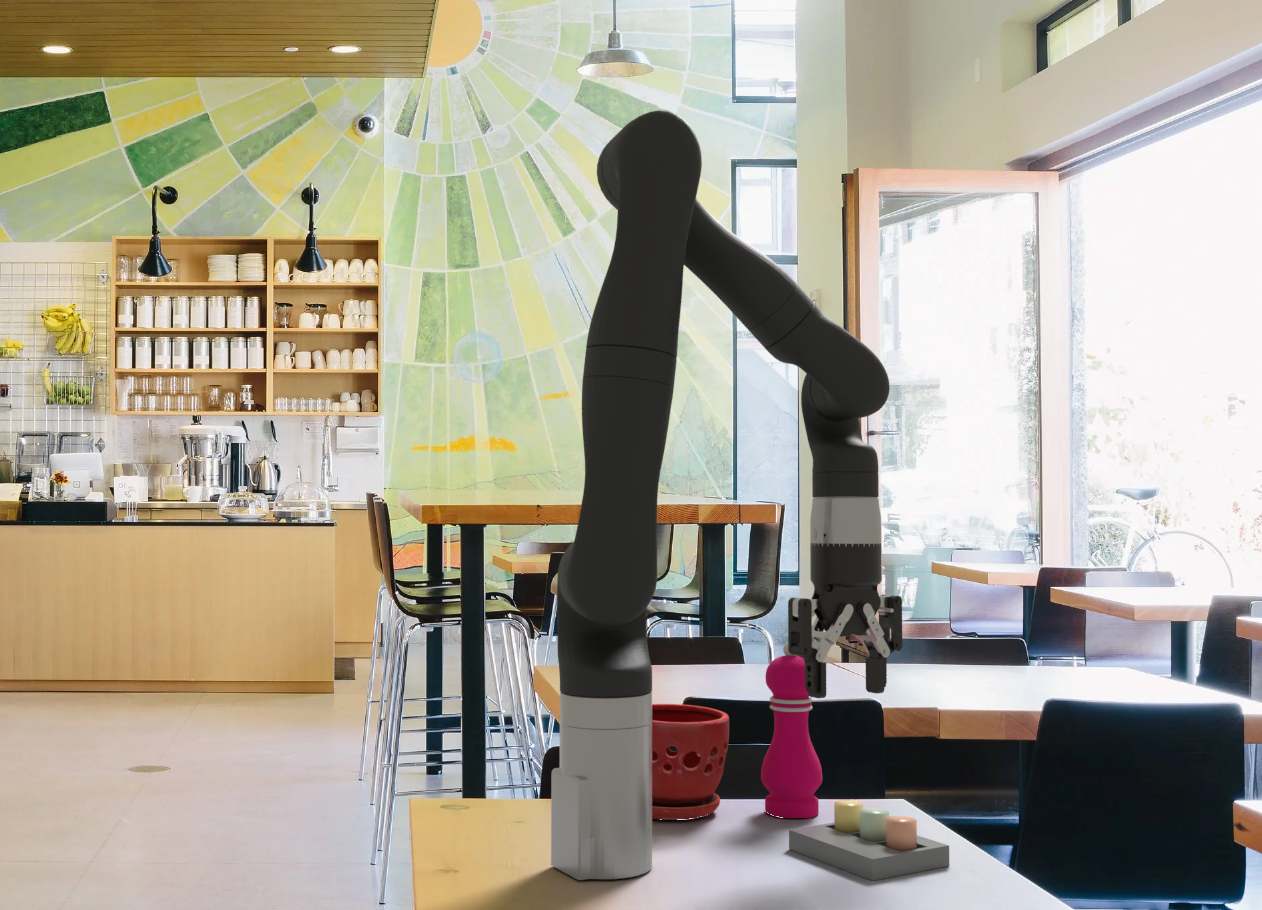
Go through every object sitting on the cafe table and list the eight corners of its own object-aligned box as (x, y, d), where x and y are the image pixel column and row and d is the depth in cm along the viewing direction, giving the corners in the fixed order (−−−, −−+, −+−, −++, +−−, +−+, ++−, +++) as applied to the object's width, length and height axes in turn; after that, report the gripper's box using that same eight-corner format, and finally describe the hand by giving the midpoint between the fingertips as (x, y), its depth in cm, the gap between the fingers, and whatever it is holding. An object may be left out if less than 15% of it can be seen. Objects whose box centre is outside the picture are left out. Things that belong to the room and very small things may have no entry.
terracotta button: (900, 855, 119) (900, 824, 119) (879, 848, 122) (879, 818, 122) (923, 851, 121) (923, 820, 121) (902, 844, 123) (902, 814, 123)
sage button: (873, 846, 123) (872, 816, 123) (853, 839, 125) (853, 809, 125) (895, 842, 124) (895, 812, 124) (875, 835, 127) (875, 806, 127)
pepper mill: (821, 806, 146) (819, 639, 147) (824, 821, 139) (823, 645, 140) (760, 805, 147) (759, 638, 148) (761, 819, 140) (760, 644, 141)
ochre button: (847, 837, 126) (847, 808, 126) (828, 830, 129) (828, 802, 129) (869, 833, 128) (869, 804, 128) (850, 827, 130) (850, 799, 130)
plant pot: (615, 826, 137) (615, 718, 137) (620, 799, 150) (621, 701, 150) (731, 827, 136) (731, 719, 137) (727, 800, 149) (726, 702, 150)
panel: (872, 880, 116) (872, 859, 116) (789, 848, 127) (788, 829, 127) (949, 865, 121) (949, 845, 121) (862, 836, 132) (862, 817, 132)
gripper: (815, 540, 123) (816, 704, 122) (920, 540, 130) (921, 694, 129) (770, 540, 130) (771, 695, 129) (872, 539, 137) (874, 686, 136)
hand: (846, 694), depth 129 cm, fingers open, 7 cm apart
